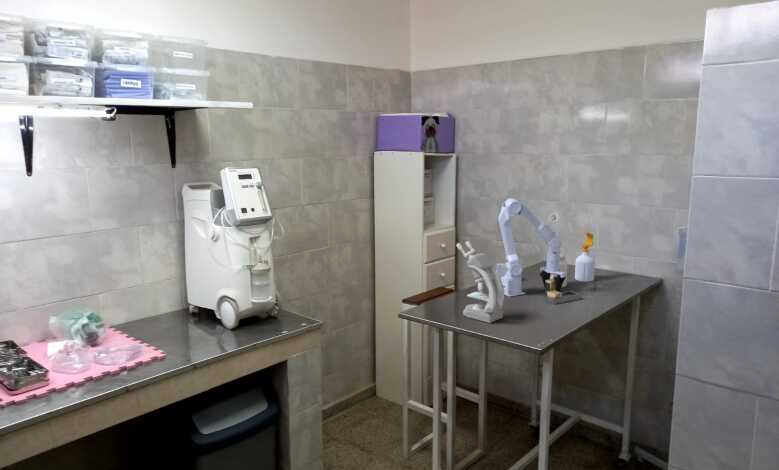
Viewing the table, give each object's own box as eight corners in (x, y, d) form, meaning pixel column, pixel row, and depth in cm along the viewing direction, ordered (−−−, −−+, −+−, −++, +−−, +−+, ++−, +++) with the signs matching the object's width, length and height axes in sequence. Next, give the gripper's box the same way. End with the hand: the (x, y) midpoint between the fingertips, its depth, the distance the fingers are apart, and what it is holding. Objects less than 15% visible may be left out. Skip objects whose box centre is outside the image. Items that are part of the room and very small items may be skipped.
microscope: (469, 308, 238) (469, 239, 232) (506, 318, 224) (507, 245, 219) (453, 314, 230) (453, 243, 225) (490, 324, 217) (491, 249, 212)
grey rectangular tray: (553, 304, 241) (553, 299, 240) (543, 300, 247) (543, 295, 246) (581, 299, 248) (581, 294, 247) (570, 295, 254) (570, 290, 253)
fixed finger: (554, 301, 242) (555, 294, 242) (547, 298, 246) (547, 291, 246) (562, 299, 244) (562, 293, 244) (554, 296, 248) (555, 290, 248)
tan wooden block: (549, 294, 256) (550, 281, 255) (544, 292, 259) (544, 280, 258) (558, 292, 258) (559, 280, 257) (553, 291, 261) (553, 278, 260)
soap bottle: (571, 278, 283) (572, 231, 278) (584, 276, 286) (586, 229, 282) (583, 282, 274) (585, 233, 270) (597, 280, 278) (600, 232, 274)
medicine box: (511, 280, 283) (512, 263, 281) (512, 282, 278) (513, 265, 277) (496, 279, 284) (496, 263, 282) (496, 282, 279) (497, 265, 278)
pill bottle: (568, 287, 266) (569, 257, 264) (552, 287, 267) (552, 257, 264) (564, 283, 274) (565, 253, 272) (547, 283, 275) (548, 253, 272)
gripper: (571, 262, 251) (569, 291, 254) (548, 256, 264) (548, 284, 267) (559, 264, 248) (558, 293, 251) (537, 258, 261) (536, 286, 264)
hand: (552, 289), depth 258 cm, fingers open, 7 cm apart
